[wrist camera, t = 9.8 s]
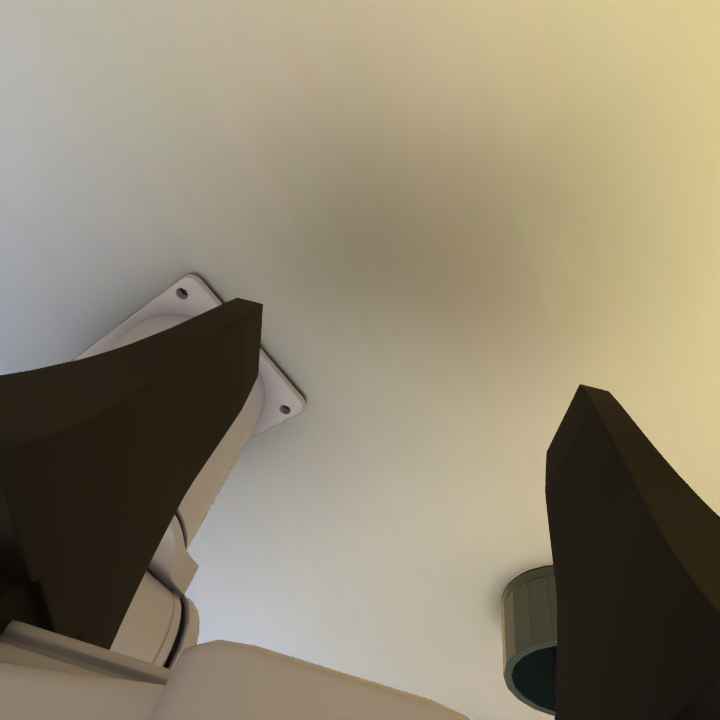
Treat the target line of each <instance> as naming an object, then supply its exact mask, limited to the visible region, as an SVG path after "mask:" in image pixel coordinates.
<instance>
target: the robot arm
mask: <svg viewBox="0 0 720 720" xmlns="http://www.w3.org/2000/svg"><path fill="white" fill-rule="evenodd" d="M180 288H182V289H184V290H186V292H187V293H188V296H187V295H184V294H183V293H182V292H181V290H180ZM262 310H263V304H260V303H256V302H252V301H248V300H244V299H240V298H236V299H233V300H231V301H228V302H226V303H224V304H222V303H221V302H220V301H219V299H218V298H217V297H216V296H215V295H214V294H213V293H212V291H211V290H210V289H209V288H208V287H207V286H206V284H205V283H204V282H203V281H202V280H201V279H200V278H199V277H198V276H196V275H194V274H188V275H185V276H184V277H183V278H181V279H180V280H179V281H177V282H176V283H175V284H173V285H172V286H171V287H169V288H168V289H167V290H165V291H164V292H163V293H161V294H160V295H159V296H157V297H156V298H155V299H153V300H152V301H151V302H149V303H148V304H147V305H145V306H144V307H143V308H141V309H140V310H139V311H137V312H136V313H135V314H133V315H132V316H131V317H129V318H128V319H127V320H125V321H124V322H123V323H122V324H120V325H119V326H118V327H116V328H115V329H114V330H112V331H111V332H110V333H108V334H107V335H106V336H104V337H103V338H102V339H100V340H99V341H98V342H96V343H95V344H94V345H92V346H91V347H90V348H88V349H87V350H86V351H84V352H83V353H82V354H80V355H79V356H78V357H76V358H75V359H74V360H72V361H71V362H66V363H62V364H57V365H53V366H48V367H44V368H40V369H35V370H30V371H24V372H18V373H12V374H6V375H0V720H470V719H469V718H468V717H467V716H465V715H463V714H460V713H458V712H456V711H454V710H452V709H450V708H448V707H445V706H443V705H441V704H439V703H437V702H435V701H432V700H430V699H426V698H423V697H420V696H417V695H413V694H410V693H407V692H404V691H400V690H397V689H394V688H391V687H388V686H384V685H381V684H378V683H375V682H371V681H368V680H365V679H362V678H358V677H355V676H352V675H349V674H345V673H342V672H339V671H336V670H332V669H329V668H326V667H323V666H319V665H316V664H313V663H310V662H306V661H303V660H300V659H297V658H293V657H290V656H287V655H284V654H281V653H277V652H274V651H271V650H268V649H264V648H261V647H258V646H255V645H249V644H243V643H236V642H230V641H224V640H216V641H211V642H207V643H203V644H199V645H197V640H198V634H199V614H198V610H197V608H196V607H195V605H194V603H193V602H192V601H191V600H190V599H189V598H188V597H186V596H185V595H184V594H185V592H186V590H187V589H188V587H189V585H190V583H191V581H192V579H193V577H194V575H195V573H196V571H197V569H198V564H197V563H196V562H195V561H194V560H193V559H192V558H191V557H190V555H189V554H188V552H187V549H188V547H189V546H190V544H191V542H192V540H193V538H194V536H195V535H196V533H197V531H198V529H199V527H200V525H201V524H202V522H203V520H204V518H205V516H206V514H207V513H208V511H209V509H210V507H211V505H212V504H213V502H214V500H215V498H216V496H217V494H218V493H219V491H220V489H221V487H222V485H223V483H224V482H225V480H226V478H227V476H228V474H229V472H230V471H231V469H232V467H233V465H234V463H235V462H236V460H237V458H238V456H239V454H240V452H241V451H242V449H243V447H244V445H245V443H246V441H247V440H248V439H249V438H251V437H253V436H255V435H257V434H259V433H261V432H263V431H265V430H267V429H269V428H271V427H273V426H275V425H277V424H279V423H281V422H283V421H284V420H286V419H288V418H290V417H292V416H294V415H296V414H298V413H300V412H301V411H302V410H303V408H304V405H305V400H304V398H303V397H302V396H301V394H300V393H299V392H298V391H297V390H296V389H295V388H294V386H293V385H292V384H291V383H290V382H289V381H288V379H287V378H286V377H285V376H284V375H283V374H282V372H281V371H280V370H279V369H278V368H277V367H276V366H275V364H274V363H273V362H272V361H271V360H270V359H269V357H268V356H267V355H266V354H265V353H264V352H263V350H262V349H261V348H260V341H261V326H262ZM283 405H285V406H288V407H289V408H290V409H285V408H284V407H283ZM545 493H546V504H547V513H548V522H549V531H550V540H551V548H552V557H553V565H554V574H555V583H556V597H557V671H556V706H555V720H720V517H719V516H718V515H717V514H716V513H715V512H714V511H713V510H712V509H711V508H710V507H709V506H708V505H707V504H706V503H705V502H704V501H703V500H702V499H701V498H700V497H699V496H698V495H697V494H696V493H695V492H694V491H693V490H692V489H691V488H690V487H689V485H688V484H687V483H686V482H685V481H684V480H683V479H682V478H681V477H680V476H679V475H678V474H677V472H676V471H675V470H674V469H673V468H672V467H671V466H670V465H669V463H668V462H667V461H666V460H665V459H664V458H663V456H662V455H661V454H660V453H659V452H658V450H657V449H656V448H655V447H654V446H653V444H652V443H651V442H650V441H649V440H648V438H647V437H646V436H645V435H644V433H643V432H642V431H641V430H640V428H639V427H638V426H637V425H636V423H635V422H634V421H633V420H632V418H631V417H630V416H629V415H628V413H627V412H626V411H625V410H624V409H623V407H622V406H621V405H620V404H619V402H618V401H617V400H616V399H615V398H614V397H613V396H612V395H611V393H610V392H609V391H605V390H601V389H597V388H593V387H589V386H585V385H581V384H580V385H579V387H578V389H577V391H576V393H575V396H574V398H573V400H572V402H571V404H570V406H569V408H568V410H567V412H566V414H565V416H564V418H563V420H562V422H561V424H560V426H559V428H558V430H557V432H556V434H555V436H554V438H553V440H552V442H551V444H550V447H549V449H548V451H547V458H546V485H545Z"/></svg>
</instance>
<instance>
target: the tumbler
mask: <svg viewBox="0 0 720 720" xmlns="http://www.w3.org/2000/svg"><path fill="white" fill-rule="evenodd" d="M502 643H503V675H504V679H505V682H506V685H507V687H508V689H509V690H510V691H511V692H512V693H513V694H514V695H515V697H516V698H517V699H519V700H520V701H522V702H523V703H525V704H527V705H528V706H530V707H531V708H534V709H536V710H538V711H541V712H544V713H547V714H549V715H553V716H555V706H556V693H555V683H554V674H553V665H552V655H551V647H554V646H557V597H556V583H555V574H554V566H550V567H543V568H539V569H535V570H532V571H529V572H527V573H524V574H522V575H521V576H519V577H517V578H516V579H515V580H513V581H512V582H511V583H510V584H509V585H508V586H507V588H506V590H505V591H504V594H503V597H502Z"/></svg>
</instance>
